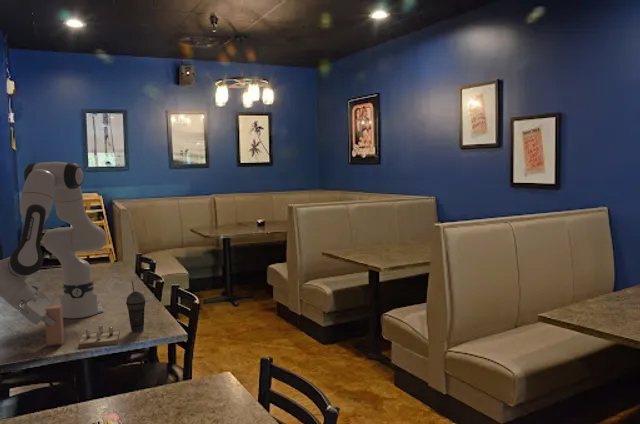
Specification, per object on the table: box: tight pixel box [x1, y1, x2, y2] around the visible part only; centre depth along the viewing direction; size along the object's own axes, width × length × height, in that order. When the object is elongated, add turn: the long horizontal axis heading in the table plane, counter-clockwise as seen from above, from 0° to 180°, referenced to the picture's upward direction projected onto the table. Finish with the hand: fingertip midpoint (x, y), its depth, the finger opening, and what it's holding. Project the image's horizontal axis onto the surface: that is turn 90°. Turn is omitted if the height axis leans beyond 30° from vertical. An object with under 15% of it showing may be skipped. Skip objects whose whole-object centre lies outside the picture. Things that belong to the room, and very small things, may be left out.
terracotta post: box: [44, 303, 65, 346], centre depth 191 cm, size 5×5×13 cm
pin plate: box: [78, 324, 121, 349], centre depth 196 cm, size 13×13×4 cm
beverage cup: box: [125, 280, 146, 334], centre depth 206 cm, size 7×7×20 cm
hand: (56, 321), depth 191 cm, fingers closed on terracotta post, 5 cm apart
